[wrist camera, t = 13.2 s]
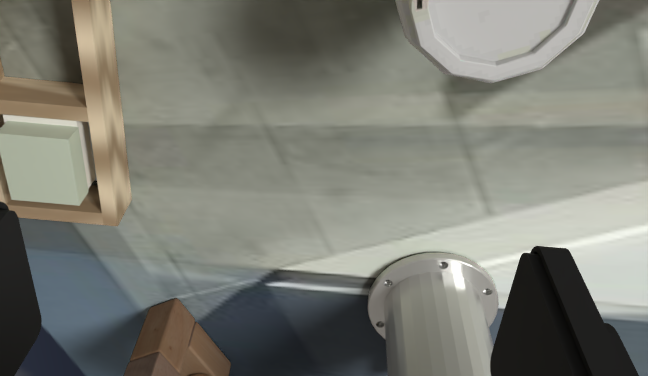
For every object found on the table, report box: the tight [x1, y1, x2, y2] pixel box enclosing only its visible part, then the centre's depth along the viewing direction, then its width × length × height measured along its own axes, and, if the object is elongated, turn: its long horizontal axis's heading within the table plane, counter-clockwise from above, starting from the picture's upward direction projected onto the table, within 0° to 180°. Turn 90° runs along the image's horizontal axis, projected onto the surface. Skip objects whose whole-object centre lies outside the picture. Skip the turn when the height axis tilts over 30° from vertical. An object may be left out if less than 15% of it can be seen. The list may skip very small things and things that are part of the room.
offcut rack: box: [0, 0, 132, 226], centre depth 47 cm, size 26×10×4 cm, turn 175°
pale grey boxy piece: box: [0, 114, 97, 206], centre depth 50 cm, size 7×6×6 cm
